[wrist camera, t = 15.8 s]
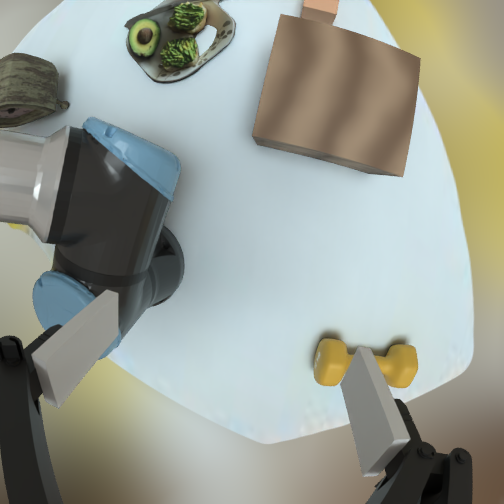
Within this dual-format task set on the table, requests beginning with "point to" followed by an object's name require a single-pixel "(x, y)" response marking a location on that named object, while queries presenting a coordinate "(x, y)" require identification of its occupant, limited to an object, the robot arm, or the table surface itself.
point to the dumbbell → (392, 366)
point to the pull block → (320, 10)
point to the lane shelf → (338, 97)
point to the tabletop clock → (27, 89)
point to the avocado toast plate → (176, 37)
